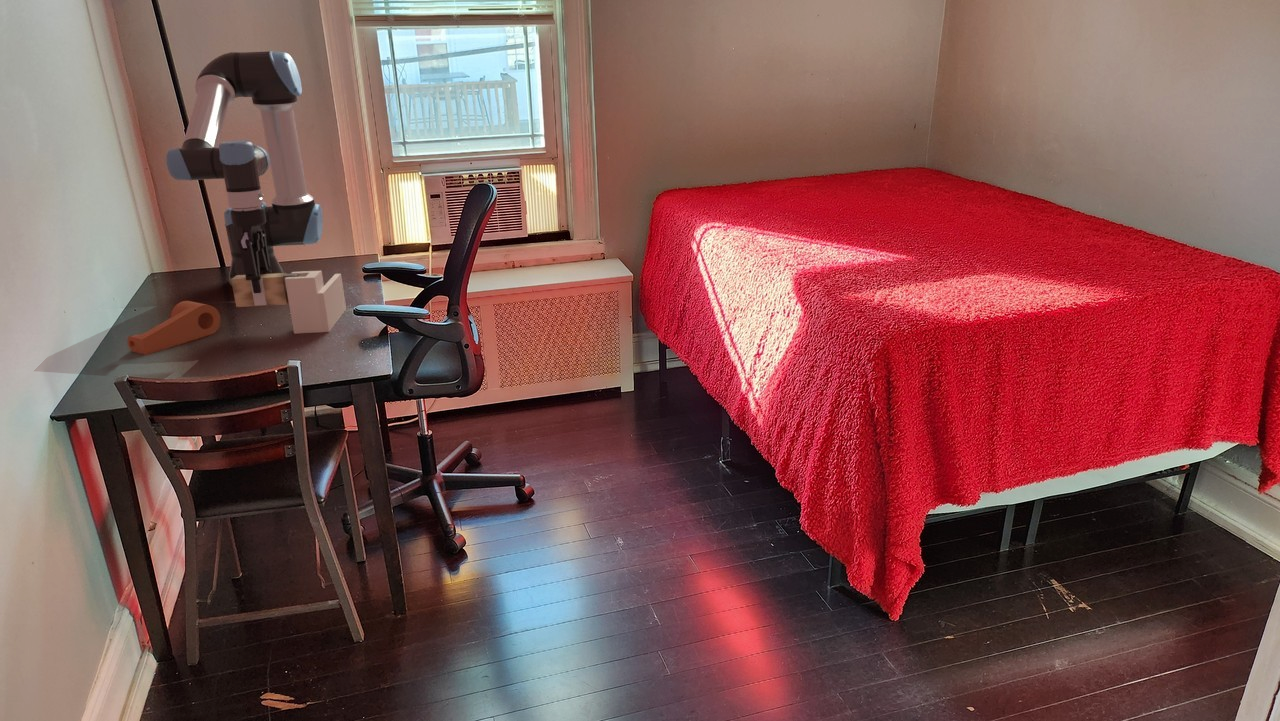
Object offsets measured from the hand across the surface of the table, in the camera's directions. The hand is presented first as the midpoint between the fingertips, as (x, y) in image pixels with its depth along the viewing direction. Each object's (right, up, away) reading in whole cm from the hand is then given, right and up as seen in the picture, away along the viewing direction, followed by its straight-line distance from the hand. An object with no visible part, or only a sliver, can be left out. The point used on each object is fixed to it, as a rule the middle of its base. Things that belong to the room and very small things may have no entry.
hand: (263, 302), depth 208 cm
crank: (-20, -10, -3) cm, 23 cm away
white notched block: (+11, -4, +10) cm, 15 cm away
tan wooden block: (+1, 0, 0) cm, 2 cm away
